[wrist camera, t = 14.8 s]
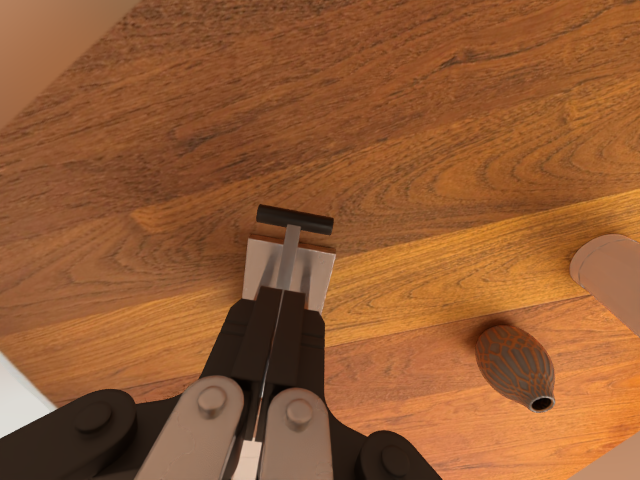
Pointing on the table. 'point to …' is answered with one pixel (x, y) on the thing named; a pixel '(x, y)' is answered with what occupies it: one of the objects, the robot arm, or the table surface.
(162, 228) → the table surface
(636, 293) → the cup
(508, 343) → the vase
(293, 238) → the metal lever
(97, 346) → the table surface
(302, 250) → the lever bracket
